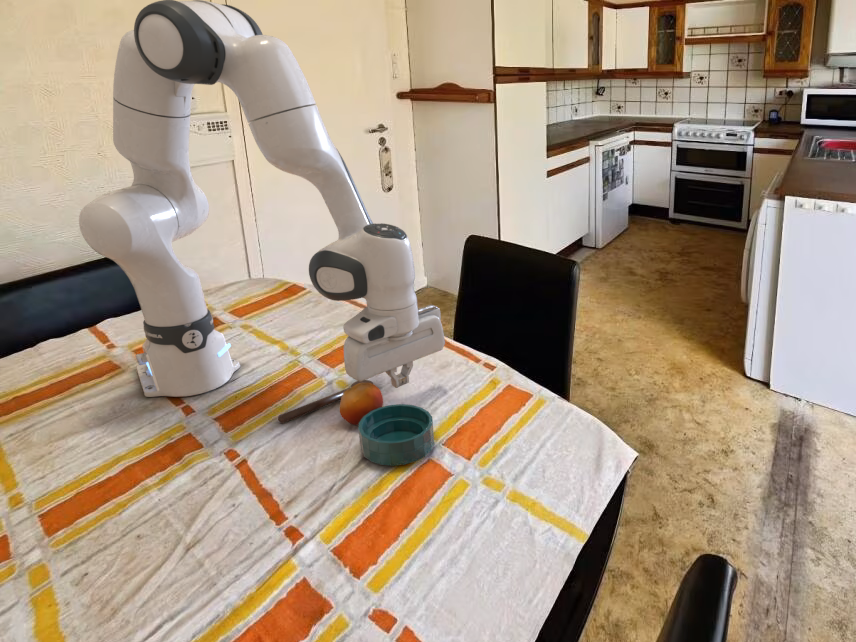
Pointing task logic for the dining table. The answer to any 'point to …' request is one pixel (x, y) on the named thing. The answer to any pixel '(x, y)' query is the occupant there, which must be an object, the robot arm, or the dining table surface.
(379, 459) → the bowl
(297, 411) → the spoon
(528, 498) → the dining table surface
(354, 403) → the fruit
